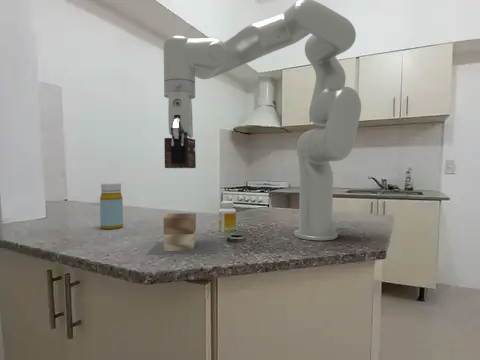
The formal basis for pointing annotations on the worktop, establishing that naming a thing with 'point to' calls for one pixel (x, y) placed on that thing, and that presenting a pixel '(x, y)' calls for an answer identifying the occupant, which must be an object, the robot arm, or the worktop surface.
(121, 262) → the worktop surface
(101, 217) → the bottle
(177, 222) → the tower top
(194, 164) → the box
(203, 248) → the mat
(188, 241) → the tower base
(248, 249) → the worktop surface
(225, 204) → the supplement bottle
